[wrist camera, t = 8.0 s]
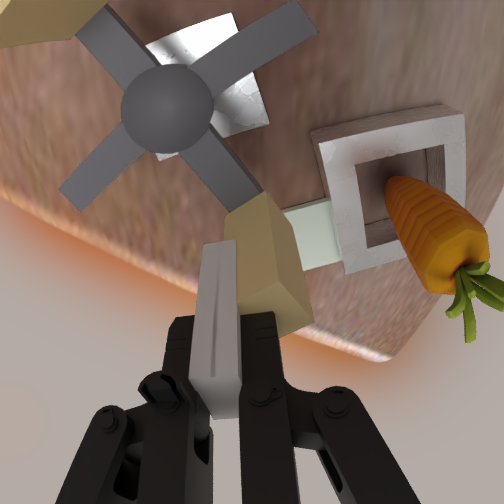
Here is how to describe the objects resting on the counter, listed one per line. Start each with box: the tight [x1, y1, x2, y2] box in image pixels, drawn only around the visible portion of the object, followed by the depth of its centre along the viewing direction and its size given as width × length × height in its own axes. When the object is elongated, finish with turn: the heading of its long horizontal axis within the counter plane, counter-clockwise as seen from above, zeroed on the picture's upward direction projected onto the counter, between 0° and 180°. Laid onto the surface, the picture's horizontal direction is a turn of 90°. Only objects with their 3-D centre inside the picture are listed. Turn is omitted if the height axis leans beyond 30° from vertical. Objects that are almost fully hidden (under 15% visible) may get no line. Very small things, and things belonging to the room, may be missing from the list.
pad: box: [281, 198, 340, 271], centre depth 26 cm, size 6×6×1 cm
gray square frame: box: [310, 104, 466, 275], centre depth 22 cm, size 11×11×3 cm
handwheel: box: [0, 0, 319, 338], centre depth 10 cm, size 16×14×8 cm
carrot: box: [384, 175, 504, 343], centre depth 17 cm, size 5×5×15 cm
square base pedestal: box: [145, 13, 270, 161], centre depth 16 cm, size 8×8×7 cm
